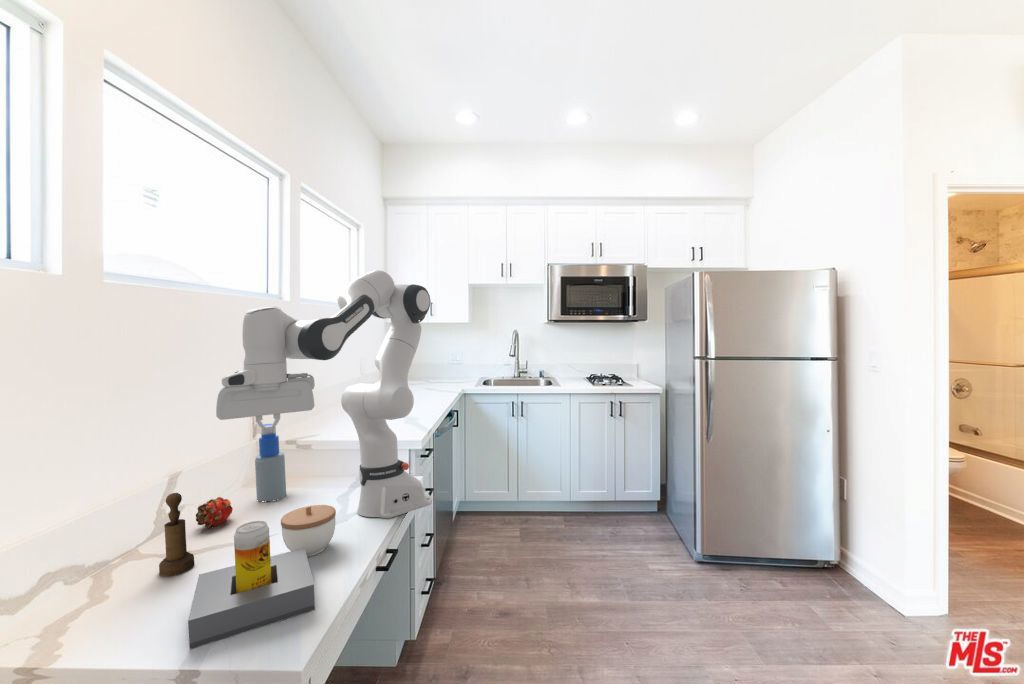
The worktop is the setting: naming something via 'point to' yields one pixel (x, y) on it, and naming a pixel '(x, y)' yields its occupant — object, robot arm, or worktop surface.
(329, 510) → the lidded bowl
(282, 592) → the can dock
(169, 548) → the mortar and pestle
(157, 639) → the worktop surface
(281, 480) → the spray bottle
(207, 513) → the dragon fruit
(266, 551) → the beer can
